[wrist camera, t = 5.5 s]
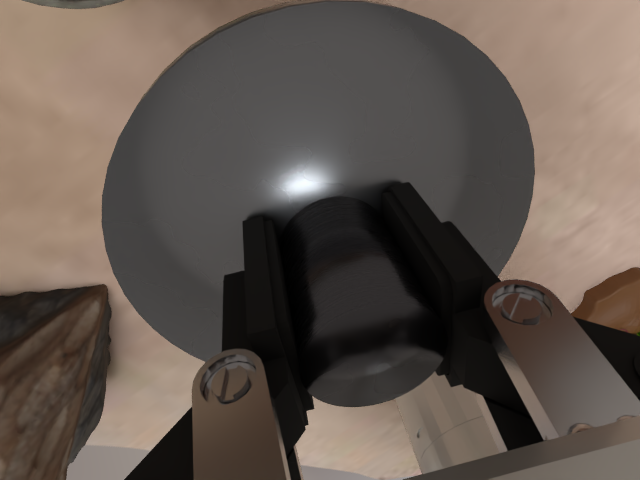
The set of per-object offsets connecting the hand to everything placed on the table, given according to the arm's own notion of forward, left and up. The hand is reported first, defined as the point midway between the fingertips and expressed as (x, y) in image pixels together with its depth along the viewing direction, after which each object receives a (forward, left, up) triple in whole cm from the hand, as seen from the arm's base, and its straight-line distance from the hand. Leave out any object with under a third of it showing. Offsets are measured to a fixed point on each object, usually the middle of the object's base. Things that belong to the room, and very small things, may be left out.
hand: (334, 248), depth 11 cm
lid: (0, 0, -1) cm, 1 cm away
